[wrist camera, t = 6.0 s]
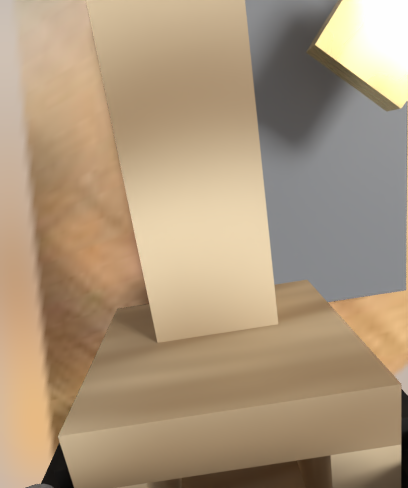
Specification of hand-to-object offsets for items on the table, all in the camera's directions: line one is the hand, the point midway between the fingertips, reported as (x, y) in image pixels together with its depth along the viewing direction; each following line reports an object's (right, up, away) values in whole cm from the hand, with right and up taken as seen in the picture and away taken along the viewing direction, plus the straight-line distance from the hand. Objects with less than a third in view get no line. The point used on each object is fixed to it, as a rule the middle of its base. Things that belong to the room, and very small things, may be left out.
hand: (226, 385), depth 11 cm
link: (-1, +6, -1) cm, 6 cm away
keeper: (+7, +16, +10) cm, 20 cm away
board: (+4, +10, +11) cm, 15 cm away
